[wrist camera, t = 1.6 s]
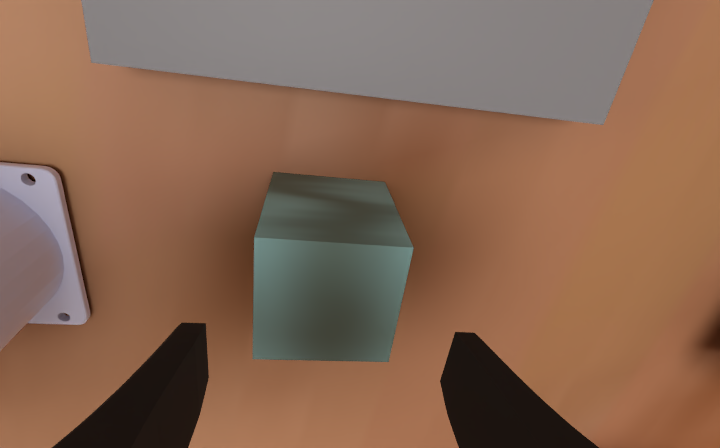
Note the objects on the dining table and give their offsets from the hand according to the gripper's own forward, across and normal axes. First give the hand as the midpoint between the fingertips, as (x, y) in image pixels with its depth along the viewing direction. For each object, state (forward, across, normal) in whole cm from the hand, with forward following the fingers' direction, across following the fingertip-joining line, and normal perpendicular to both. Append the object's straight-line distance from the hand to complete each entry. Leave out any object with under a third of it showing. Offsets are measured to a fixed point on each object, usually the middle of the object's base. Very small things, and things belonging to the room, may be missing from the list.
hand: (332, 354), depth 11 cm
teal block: (+8, 0, 0) cm, 8 cm away
